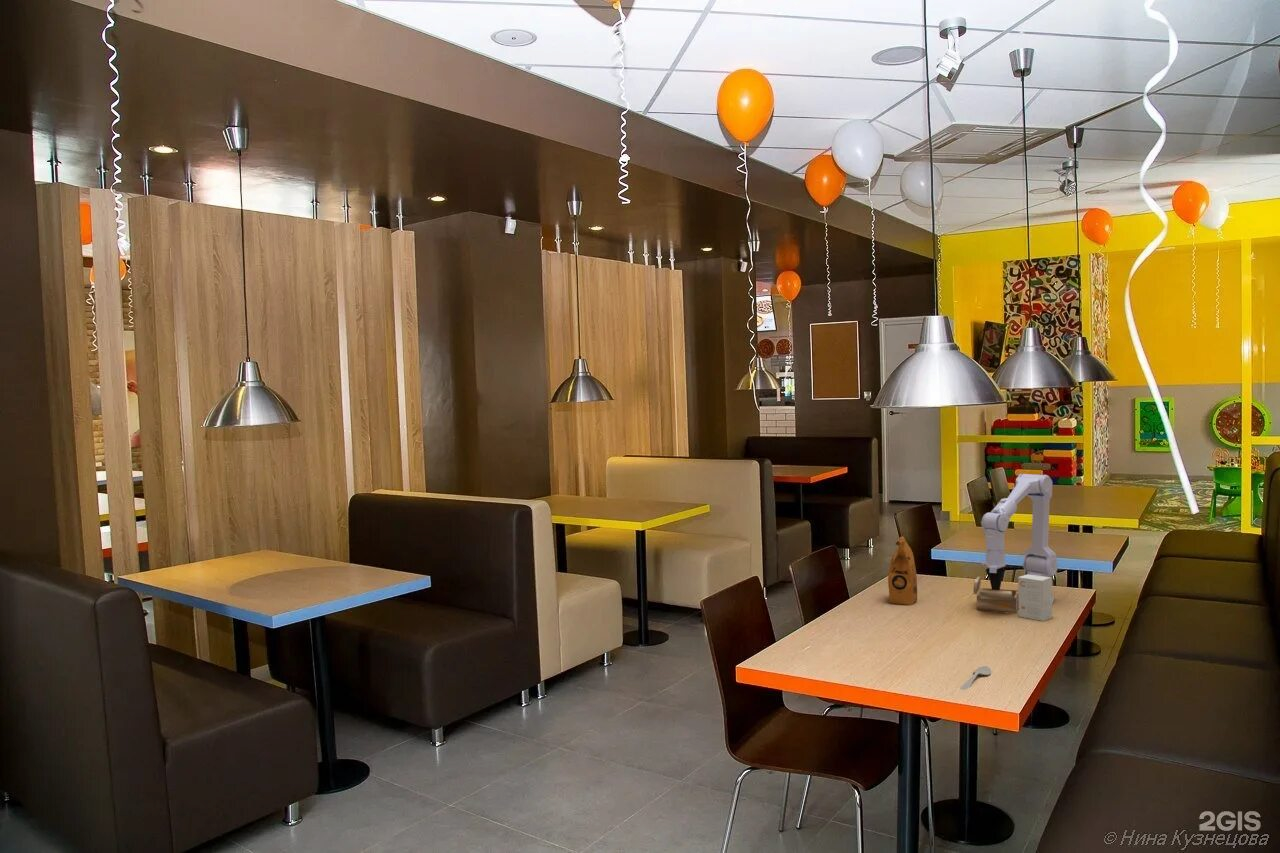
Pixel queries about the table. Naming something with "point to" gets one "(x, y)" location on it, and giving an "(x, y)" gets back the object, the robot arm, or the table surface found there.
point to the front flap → (996, 594)
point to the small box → (1035, 597)
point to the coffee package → (902, 575)
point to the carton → (999, 603)
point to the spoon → (977, 672)
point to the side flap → (977, 585)
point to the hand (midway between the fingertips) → (995, 590)
